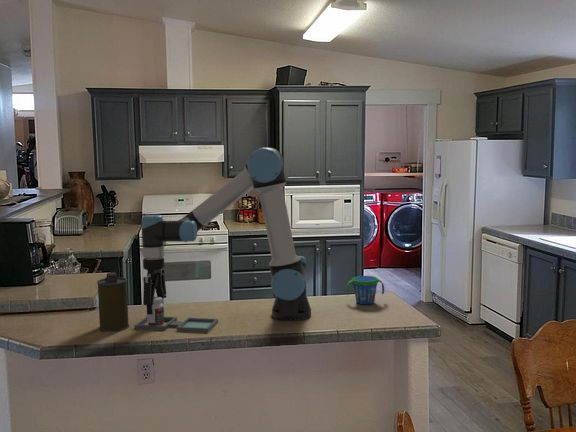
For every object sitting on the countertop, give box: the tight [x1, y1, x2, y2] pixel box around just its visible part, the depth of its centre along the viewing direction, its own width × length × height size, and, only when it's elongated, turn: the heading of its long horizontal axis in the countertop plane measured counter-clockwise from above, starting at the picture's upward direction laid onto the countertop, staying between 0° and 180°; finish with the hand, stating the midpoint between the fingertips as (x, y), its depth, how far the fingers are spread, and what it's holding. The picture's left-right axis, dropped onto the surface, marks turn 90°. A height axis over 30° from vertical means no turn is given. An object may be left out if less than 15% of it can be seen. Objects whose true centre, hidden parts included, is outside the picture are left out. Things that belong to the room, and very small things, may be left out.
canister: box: [96, 272, 130, 333], centre depth 208 cm, size 11×10×20 cm
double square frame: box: [133, 316, 219, 333], centre depth 210 cm, size 28×12×1 cm, turn 80°
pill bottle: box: [147, 296, 165, 326], centre depth 211 cm, size 6×6×10 cm
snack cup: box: [345, 275, 385, 305], centre depth 237 cm, size 16×10×10 cm
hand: (156, 318), depth 211 cm, fingers open, 8 cm apart
